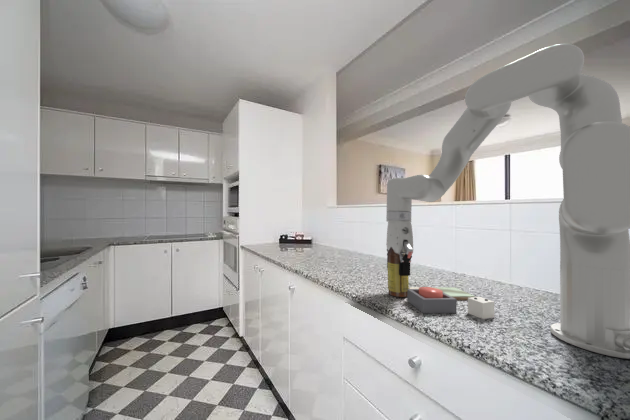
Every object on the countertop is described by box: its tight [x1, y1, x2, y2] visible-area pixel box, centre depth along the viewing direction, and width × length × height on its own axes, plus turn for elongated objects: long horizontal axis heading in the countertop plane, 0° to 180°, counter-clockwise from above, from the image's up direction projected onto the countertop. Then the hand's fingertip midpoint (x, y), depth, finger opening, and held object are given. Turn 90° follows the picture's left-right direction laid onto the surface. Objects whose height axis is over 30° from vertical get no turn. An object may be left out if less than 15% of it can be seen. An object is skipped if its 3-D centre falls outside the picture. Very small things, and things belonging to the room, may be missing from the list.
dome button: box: [419, 286, 443, 298], centre depth 68 cm, size 6×6×3 cm
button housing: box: [406, 289, 458, 314], centre depth 68 cm, size 9×9×4 cm
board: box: [409, 286, 477, 301], centre depth 78 cm, size 10×18×1 cm, turn 95°
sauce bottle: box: [386, 247, 410, 298], centre depth 77 cm, size 6×6×20 cm
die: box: [467, 296, 495, 320], centre depth 62 cm, size 4×4×4 cm
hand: (397, 271), depth 77 cm, fingers open, 8 cm apart
